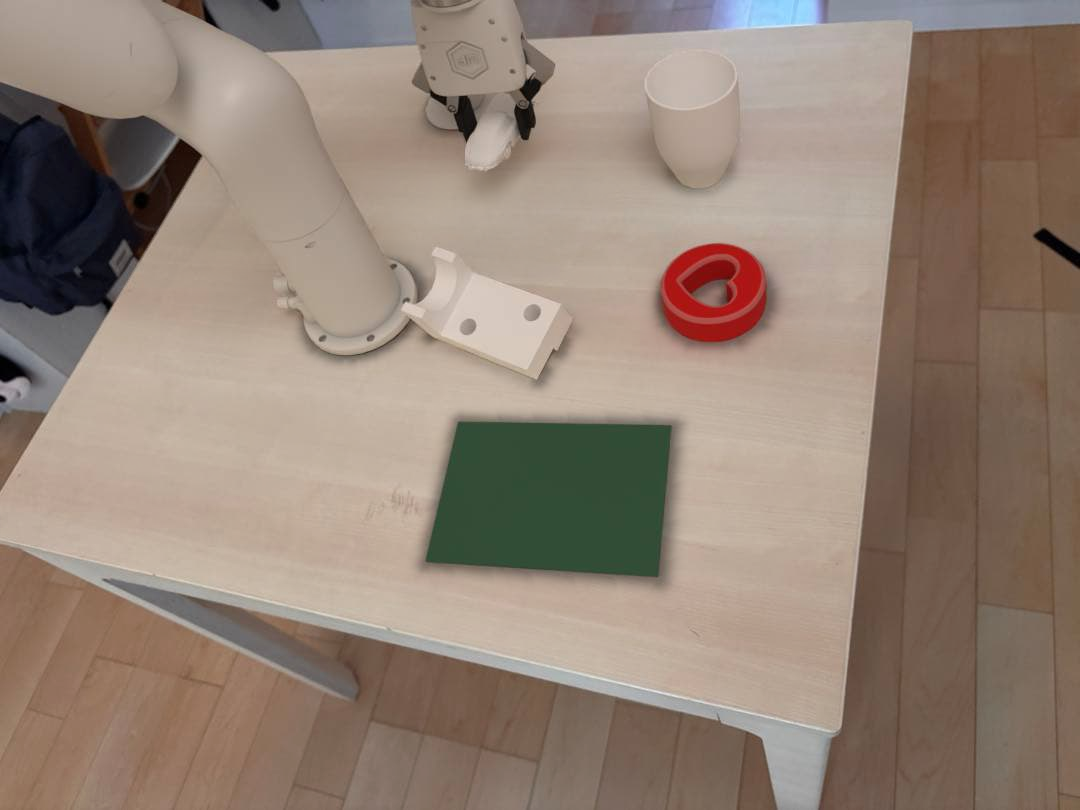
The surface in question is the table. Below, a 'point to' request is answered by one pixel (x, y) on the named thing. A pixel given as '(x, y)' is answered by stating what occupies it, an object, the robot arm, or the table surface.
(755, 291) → the decorative ornament
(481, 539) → the cloth mat
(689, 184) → the mug
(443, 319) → the bracket
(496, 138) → the toy car
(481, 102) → the teacup
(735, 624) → the table surface
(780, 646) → the table surface
